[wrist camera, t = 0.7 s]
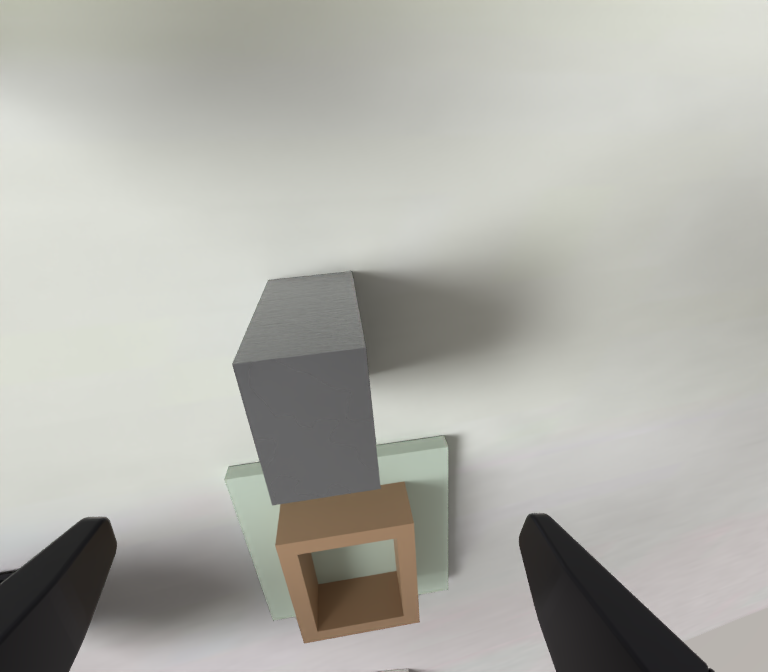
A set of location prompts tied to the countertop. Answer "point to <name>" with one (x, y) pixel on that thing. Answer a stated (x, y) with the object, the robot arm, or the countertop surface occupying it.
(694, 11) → the countertop surface
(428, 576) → the post socket
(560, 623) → the robot arm
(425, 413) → the countertop surface
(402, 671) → the hinge
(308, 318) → the brushed grey metal block
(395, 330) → the countertop surface
